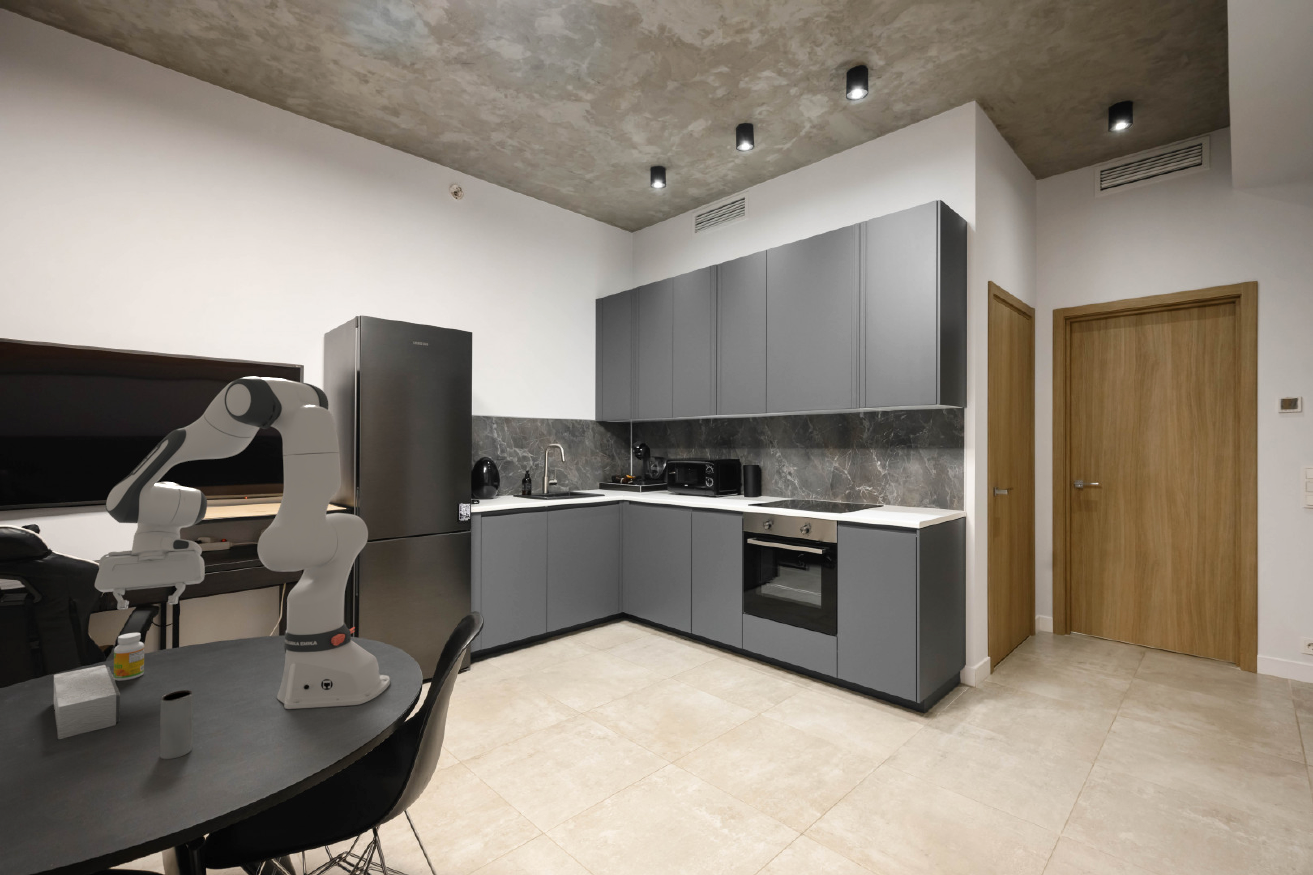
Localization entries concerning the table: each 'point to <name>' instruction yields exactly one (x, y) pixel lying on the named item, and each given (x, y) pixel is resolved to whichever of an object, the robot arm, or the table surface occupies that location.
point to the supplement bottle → (128, 657)
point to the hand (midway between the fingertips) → (147, 606)
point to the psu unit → (85, 701)
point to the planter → (176, 724)
